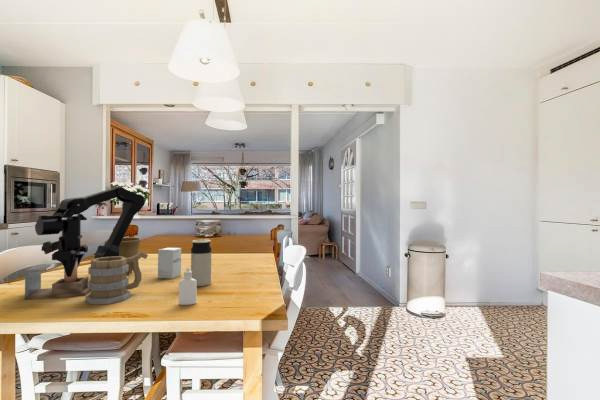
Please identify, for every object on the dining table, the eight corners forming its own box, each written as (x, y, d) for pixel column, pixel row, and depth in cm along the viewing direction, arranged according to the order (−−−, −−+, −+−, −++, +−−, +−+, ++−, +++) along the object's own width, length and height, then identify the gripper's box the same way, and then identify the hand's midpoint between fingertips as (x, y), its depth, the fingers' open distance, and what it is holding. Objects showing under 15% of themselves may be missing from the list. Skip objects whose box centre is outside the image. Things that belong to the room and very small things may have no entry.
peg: (78, 280, 126) (78, 259, 126) (75, 283, 122) (75, 261, 122) (66, 281, 125) (66, 259, 124) (62, 283, 121) (62, 261, 121)
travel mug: (190, 287, 133) (190, 241, 133) (191, 282, 140) (191, 239, 140) (211, 286, 135) (211, 241, 135) (210, 281, 142) (211, 239, 142)
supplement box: (172, 279, 146) (172, 250, 146) (157, 278, 148) (157, 249, 148) (181, 275, 153) (181, 247, 153) (167, 274, 155) (167, 247, 155)
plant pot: (108, 271, 160) (108, 237, 160) (142, 269, 165) (142, 237, 165) (100, 278, 146) (100, 241, 146) (137, 276, 151) (138, 240, 151)
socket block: (93, 288, 130) (93, 262, 130) (85, 295, 120) (85, 267, 120) (37, 291, 124) (37, 264, 124) (24, 299, 115) (25, 270, 115)
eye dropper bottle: (184, 300, 115) (184, 266, 115) (198, 302, 114) (199, 266, 114) (176, 304, 111) (176, 268, 111) (191, 306, 109) (191, 269, 109)
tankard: (94, 307, 108) (95, 260, 108) (81, 299, 116) (82, 255, 116) (155, 294, 123) (156, 253, 123) (140, 288, 131) (140, 249, 131)
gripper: (55, 231, 130) (54, 271, 130) (33, 236, 112) (33, 283, 112) (88, 230, 133) (88, 269, 133) (72, 235, 115) (72, 280, 115)
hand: (71, 275), depth 123 cm, fingers closed on peg, 4 cm apart
